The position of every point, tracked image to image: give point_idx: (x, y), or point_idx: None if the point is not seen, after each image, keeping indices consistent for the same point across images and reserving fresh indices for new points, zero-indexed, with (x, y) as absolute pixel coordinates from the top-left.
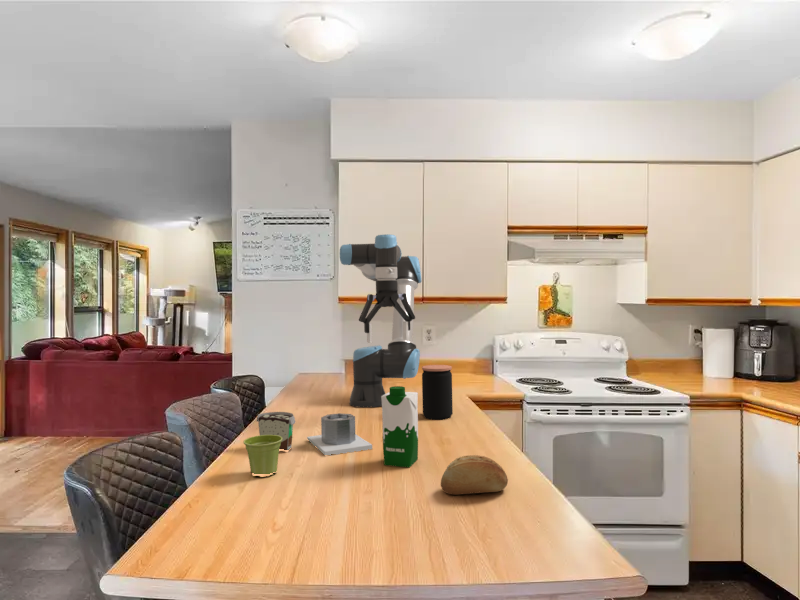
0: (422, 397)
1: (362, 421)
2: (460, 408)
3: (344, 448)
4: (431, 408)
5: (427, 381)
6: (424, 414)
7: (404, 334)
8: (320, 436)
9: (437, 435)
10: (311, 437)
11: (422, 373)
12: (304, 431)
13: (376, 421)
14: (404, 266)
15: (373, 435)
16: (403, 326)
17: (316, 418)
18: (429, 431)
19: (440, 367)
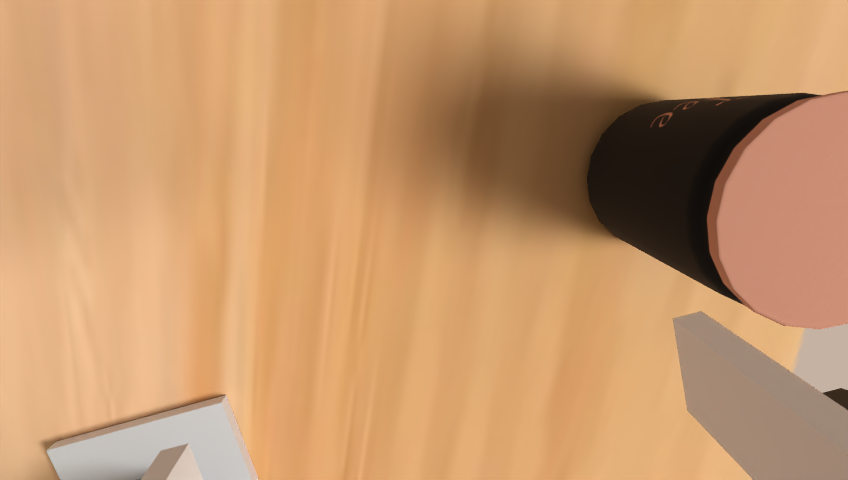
0: (622, 165)
1: (286, 175)
2: (828, 11)
3: None
4: (626, 240)
5: (680, 261)
6: (589, 194)
7: (722, 396)
8: (100, 456)
9: (552, 468)
10: (65, 463)
11: (696, 186)
12: (21, 299)
13: (353, 192)
14: None
15: (316, 420)
16: (805, 444)
17: (46, 45)
18: (540, 410)
19: (842, 267)
